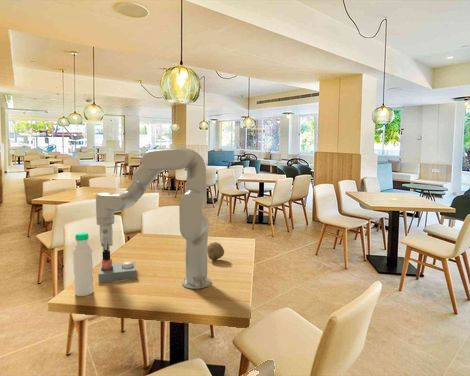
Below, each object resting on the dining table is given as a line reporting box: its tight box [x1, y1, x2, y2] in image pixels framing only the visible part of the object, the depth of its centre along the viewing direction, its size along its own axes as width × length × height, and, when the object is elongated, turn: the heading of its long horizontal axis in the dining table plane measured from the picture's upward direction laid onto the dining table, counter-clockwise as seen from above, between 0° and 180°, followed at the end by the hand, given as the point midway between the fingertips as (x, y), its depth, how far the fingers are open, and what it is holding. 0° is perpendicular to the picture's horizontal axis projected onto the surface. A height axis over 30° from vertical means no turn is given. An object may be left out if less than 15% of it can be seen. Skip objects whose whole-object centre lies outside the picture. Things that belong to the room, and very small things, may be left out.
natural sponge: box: [207, 241, 225, 262], centre depth 177 cm, size 9×9×10 cm
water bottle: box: [72, 232, 94, 297], centre depth 135 cm, size 7×7×25 cm
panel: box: [97, 261, 137, 284], centre depth 155 cm, size 12×16×4 cm
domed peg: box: [122, 261, 133, 269], centre depth 156 cm, size 4×4×4 cm
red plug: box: [101, 258, 113, 271], centre depth 153 cm, size 4×4×4 cm
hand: (106, 259), depth 152 cm, fingers closed
